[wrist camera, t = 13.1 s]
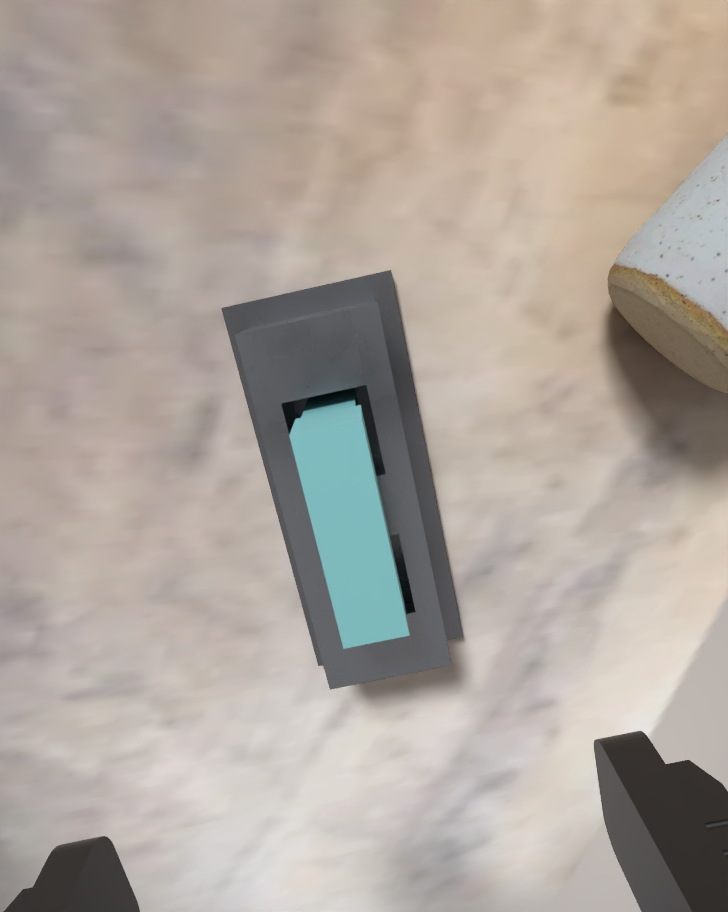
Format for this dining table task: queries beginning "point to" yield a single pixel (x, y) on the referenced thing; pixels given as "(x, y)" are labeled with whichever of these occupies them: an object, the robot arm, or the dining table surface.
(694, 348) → the ceramic mug
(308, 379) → the grey hollow block
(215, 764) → the dining table surface
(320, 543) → the clip
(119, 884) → the robot arm
